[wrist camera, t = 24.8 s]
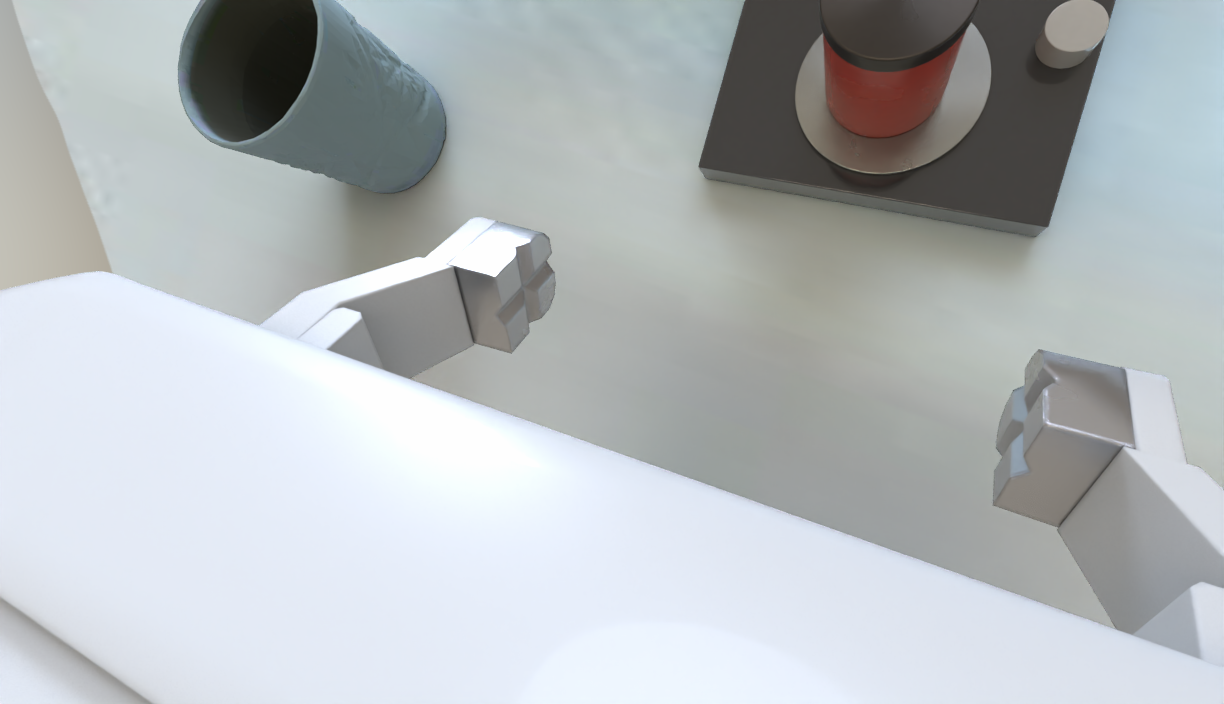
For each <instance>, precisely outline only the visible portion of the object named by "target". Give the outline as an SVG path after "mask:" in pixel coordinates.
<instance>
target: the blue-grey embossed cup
mask: <svg viewBox="0 0 1224 704" xmlns="http://www.w3.org/2000/svg"><path fill="white" fill-rule="evenodd" d="M178 84H179V92H180V97H181V101H182V104H183V107H184V109H185V112H186V114H187V116H188V118H189V119H190V121H191V123H192V124H193V126H194V127H195V128H196V129H197V130H198V131H199V132H200V133H201V134H202V135H203V136H204V137H205V138H207V139H208V140H209V141H210V142H212V143H214V144H216V145H219V146H221V147H224V148H228V149H232V150H235V151H239V152H243V153H246V154H250V155H253V156H257V157H260V158H264V159H268V160H273V161H275V162H278V163H281V164H289V165H290V166H291V167H294V168H301V169H303V170H310V171H311V172H313V173H319V174H320V173H321V174H325V175H326V176H327V177H330V178H331V177H332V178H335V179H336V180H338V181H341V182H345V183H348V184H352V185H358V186H359V187H361V188H364V189H367V190H371V191H375V192H379V193H395V192H399V191H403V190H406V189H408V188H410V187H411V186H413V185H415V184H416V183H417V182H419V181H420V180H421V179H422V178H423V177H424V176H425V175H426V174H427V173H428V172H429V171H430V169H431V168H432V167H433V165H434V164H435V163H436V161H437V159H438V156H439V154H440V151H441V149H442V146H443V141H444V140H445V130H444V129H445V127H446V124H445V115H444V110H443V106H442V104H441V101H440V99H439V97H438V94H437V93H436V91H435V90H434V88H433V87H432V86H431V84H430V83H428V82H427V81H426V80H425V79H424V78H423V77H422V76H421V75H419V74H418V73H417V72H416V71H415V70H414V69H413V68H411V67H410V66H409V65H408V64H405V63H403V62H402V61H401V60H400V59H399V58H398V57H397V55H396V54H395V53H394V52H393V51H392V50H390V49H389V48H388V47H387V46H386V45H384V44H383V43H382V42H381V41H380V40H379V39H378V38H377V37H376V36H374V35H373V34H372V33H371V32H370V31H369V30H368V29H366V28H365V27H362V26H361V25H359V24H358V23H357V22H356V20H355V18H354V17H353V16H352V15H351V14H350V13H349V12H348V11H347V10H346V9H344V8H343V7H342V6H341V5H340V4H339V3H338V2H336V1H335V0H200V2H199V4H198V6H197V7H196V9H195V11H194V13H193V14H192V16H191V18H190V20H189V22H188V25H187V27H186V29H185V31H184V35H183V38H182V42H181V47H180V55H179V62H178Z"/></svg>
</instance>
